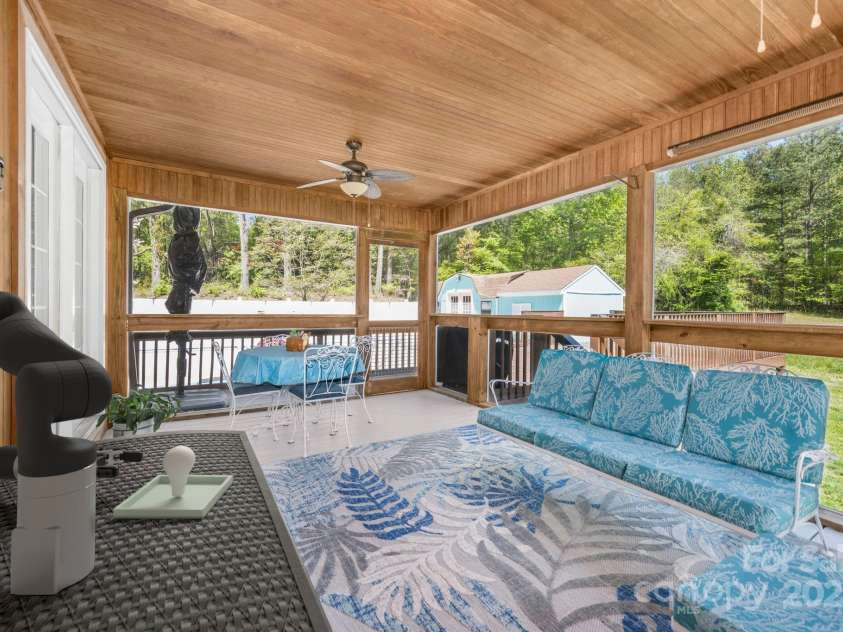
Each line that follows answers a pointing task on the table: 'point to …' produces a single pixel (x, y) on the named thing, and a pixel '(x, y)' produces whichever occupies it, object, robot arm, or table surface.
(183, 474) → the lightbulb
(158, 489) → the parts tray
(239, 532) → the table surface
